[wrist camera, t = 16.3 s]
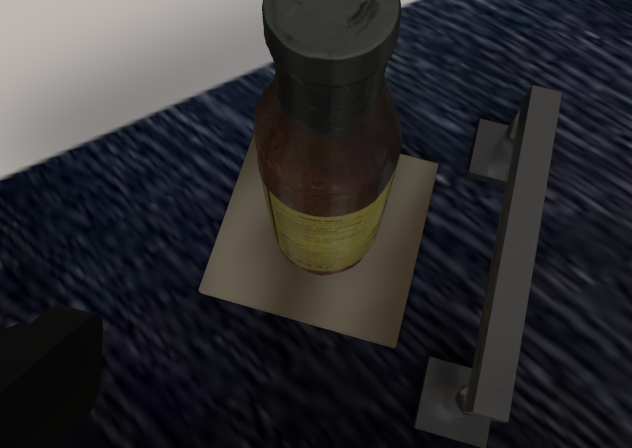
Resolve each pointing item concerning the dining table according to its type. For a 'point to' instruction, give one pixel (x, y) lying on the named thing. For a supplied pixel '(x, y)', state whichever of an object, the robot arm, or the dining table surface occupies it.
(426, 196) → the birch pad
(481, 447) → the grey bar handle
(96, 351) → the robot arm
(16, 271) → the dining table surface
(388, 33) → the sauce bottle
